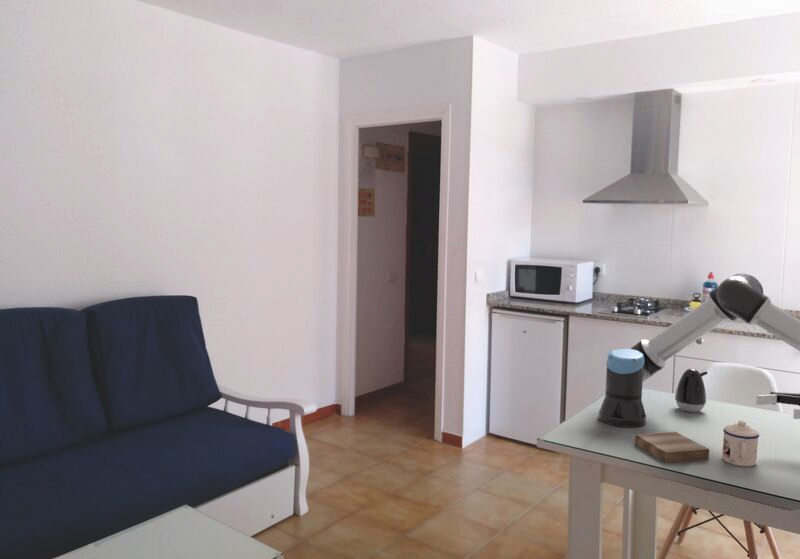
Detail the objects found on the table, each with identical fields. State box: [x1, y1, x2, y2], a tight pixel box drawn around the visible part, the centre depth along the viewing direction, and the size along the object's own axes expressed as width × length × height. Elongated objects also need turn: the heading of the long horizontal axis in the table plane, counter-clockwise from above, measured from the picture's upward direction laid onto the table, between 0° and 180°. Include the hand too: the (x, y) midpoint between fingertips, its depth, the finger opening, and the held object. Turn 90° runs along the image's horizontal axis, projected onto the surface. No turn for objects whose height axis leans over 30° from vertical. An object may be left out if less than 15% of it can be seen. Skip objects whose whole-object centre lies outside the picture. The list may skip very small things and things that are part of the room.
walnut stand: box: [634, 431, 710, 464], centre depth 194 cm, size 15×14×3 cm
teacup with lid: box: [721, 420, 760, 468], centre depth 186 cm, size 12×9×12 cm
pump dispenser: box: [674, 368, 708, 413], centre depth 235 cm, size 10×10×15 cm
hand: (775, 406), depth 188 cm, fingers open, 13 cm apart
